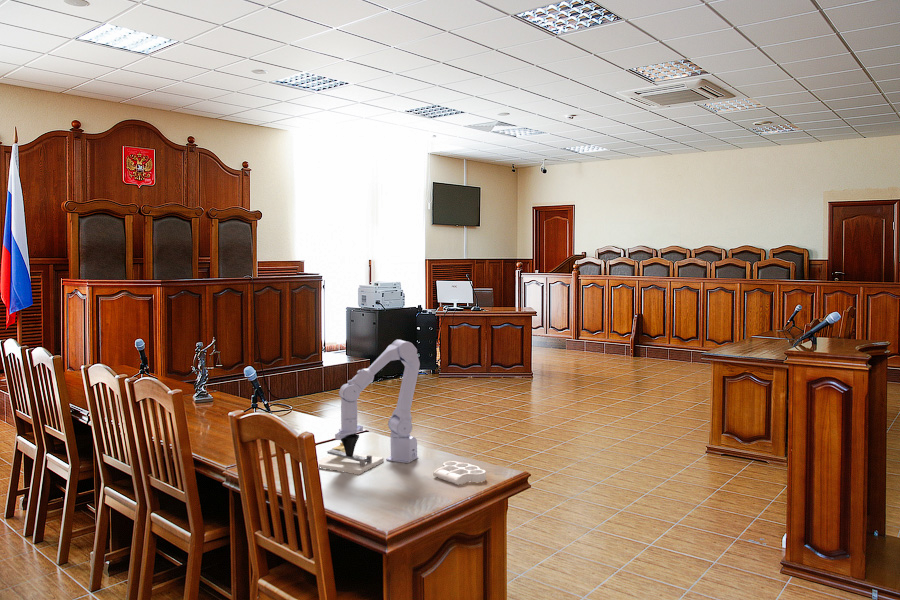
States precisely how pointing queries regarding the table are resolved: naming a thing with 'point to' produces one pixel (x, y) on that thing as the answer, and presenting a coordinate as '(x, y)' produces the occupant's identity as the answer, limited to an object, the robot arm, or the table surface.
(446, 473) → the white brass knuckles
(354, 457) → the dark grey flat bar
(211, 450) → the table surface
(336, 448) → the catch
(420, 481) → the table surface
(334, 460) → the board
